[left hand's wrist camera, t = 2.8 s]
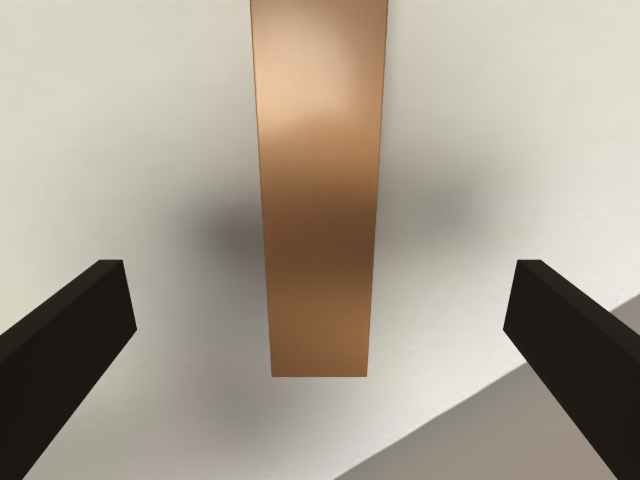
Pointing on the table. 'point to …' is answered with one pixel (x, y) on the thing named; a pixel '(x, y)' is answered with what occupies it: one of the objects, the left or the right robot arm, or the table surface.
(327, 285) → the bar
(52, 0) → the table surface
